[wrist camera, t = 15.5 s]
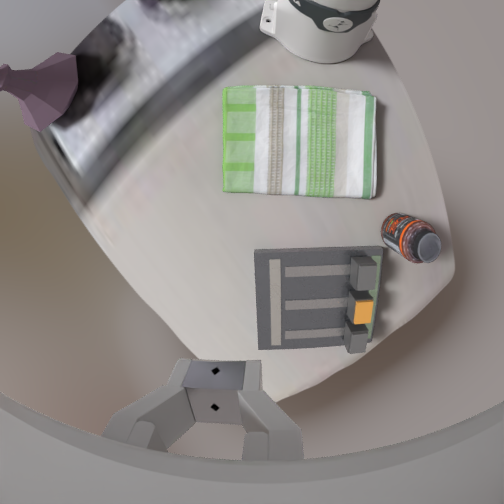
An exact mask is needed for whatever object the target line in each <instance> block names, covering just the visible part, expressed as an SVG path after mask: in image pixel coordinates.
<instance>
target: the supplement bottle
mask: <svg viewBox="0 0 504 504" xmlns="http://www.w3.org/2000/svg"><path fill="white" fill-rule="evenodd" d="M381 236H382V239H383V241H384V243H385V244H386V245H387V246H388V247H389V248H391V249H392V250H394V251H396V252H397V253H399V254H400V255H402V256H403V257H404V258H406V259H407V260H409V261H411V262H413V263H423V262H426V263H430V262H433V261H434V260H435V259H436V258H437V257H438V256H439V254H440V251H441V240H440V238H439V237H438V235H437V234H436V233H435V230H434V229H433V227H432V226H431V225H430V224H428V223H426V222H424V221H422V220H419V219H416V218H413V217H411V216H408V215H405V214H401V213H394V214H391V215H390V216H388V217H387V218H386V219H385V221H384V222H383V225H382V228H381Z"/></svg>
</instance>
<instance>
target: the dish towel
mask: <svg viewBox="0 0 504 504" xmlns="http://www.w3.org/2000/svg"><path fill="white" fill-rule="evenodd" d="M375 120H376V97H374V96H372V95H371V93H370V92H369V91H358V90H347V89H335V88H328V87H321V86H320V87H319V86H282V85H266V86H234V87H226V88H224V89H223V146H224V148H223V179H224V180H223V184H224V187H223V192H231V193H258V194H269V195H300V196H310V197H329V198H332V197H338V198H339V197H348V198H363V199H371V198H372V197H375V195H376V185H377V183H376V182H377V144H376V123H375Z"/></svg>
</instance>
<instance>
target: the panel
mask: <svg viewBox="0 0 504 504" xmlns="http://www.w3.org/2000/svg"><path fill="white" fill-rule="evenodd" d="M365 256H369V257H371V258H372V259H373V260H374V261H375V262H376V263H377V273H376V283H375V290H367V291H368V292H369V293H370V295H371V296H372V297H373V298H374V299H373V301H374V302H373V309H372V316H371V323H365V325H366V327H367V328H368V330H369V332H368V333H369V334H368V339H367V343H369V342H371V341H372V335H373V330H374V324H375V317H376V311H377V304H378V297H379V289H380V280H381V270H382V259H383V248H381V247H380V246H357V247H323V248H291V249H259V250H255V251H254V262H255V284H256V306H257V328H258V350H271V349H298V348H315V347H329V346H341V345H344V342H343V339H344V332H345V323H346V321H351V320H350V319H349V317H348V315H347V307H348V296H349V291H355V289H354V288H353V286H352V285H351V283H350V282H349V281H350V266H351V257H365Z"/></svg>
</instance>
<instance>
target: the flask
mask: <svg viewBox="0 0 504 504" xmlns="http://www.w3.org/2000/svg"><path fill="white" fill-rule="evenodd" d="M77 89H78V75H77V65H76V56H75V55H70V54H64V53H59V52H57V53H55V54H54V55H52V56H51V57H50V58H48V59H47V60H45V61H44V62H42V63H41V64H39V65H37V66H36V67H34V68H33V69H29V70H11V68H10V67H9V66H8V65H7V64H3V65H2V66H1V67H0V91H2V90H4V91H7V92H9V93H10V94H12V95H13V96H15V97H16V98H18V101H19V104H20V107H21V110H22V115H23V119H24V124H26V125H28V126H30V127H32V128H34V129H35V130H37V131H39V132H41V131H42V130H43V129H44V128H46V127H47V126H48V125H50V124H51V123H52V122H53V121H55V120H56V119H57V118H59V117H60V116H61V115H63V114H64V112H65V111H66V110H67V109H68V108H69V107H70V104H71V102H72V100H73V98H74V96H75V94H76V92H77Z"/></svg>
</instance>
